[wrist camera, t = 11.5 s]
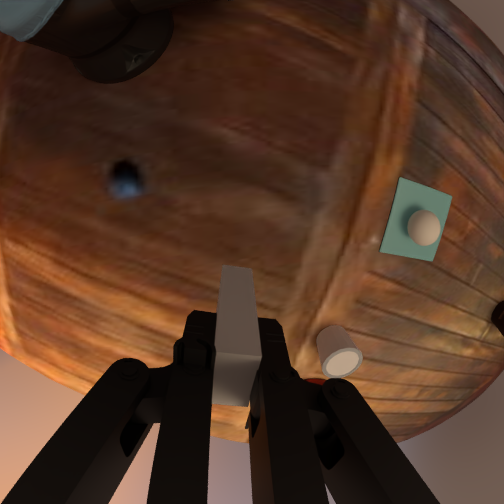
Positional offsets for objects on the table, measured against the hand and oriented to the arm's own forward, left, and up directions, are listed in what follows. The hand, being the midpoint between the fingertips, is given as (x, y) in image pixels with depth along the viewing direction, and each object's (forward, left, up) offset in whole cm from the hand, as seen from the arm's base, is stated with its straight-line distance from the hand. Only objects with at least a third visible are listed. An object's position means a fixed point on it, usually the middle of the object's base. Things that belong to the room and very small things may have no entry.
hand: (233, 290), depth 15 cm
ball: (-2, +28, -22) cm, 36 cm away
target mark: (-2, +29, -24) cm, 38 cm away
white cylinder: (+21, +20, -25) cm, 38 cm away
